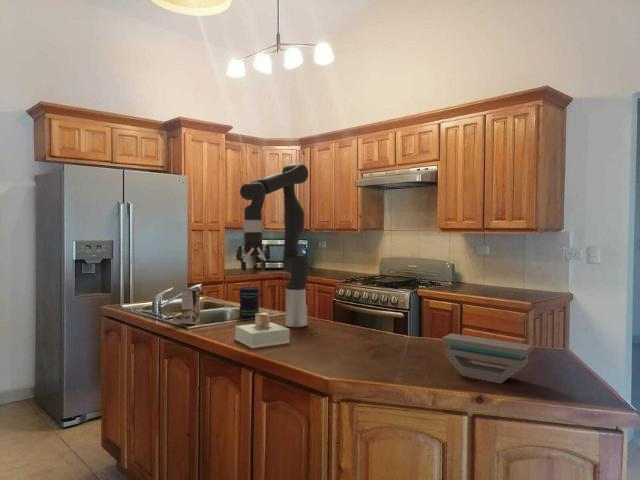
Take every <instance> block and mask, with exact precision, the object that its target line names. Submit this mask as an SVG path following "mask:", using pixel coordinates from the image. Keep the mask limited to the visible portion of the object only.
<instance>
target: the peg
mask: <svg viewBox="0 0 640 480" xmlns="http://www.w3.org/2000/svg"><path fill="white" fill-rule="evenodd" d="M270 317H271V315H270V313H268V312H258V313H255V320H254V321H255V323H254V324H255V329H257V330H262V329H269V322H271V321H270V319H271V318H270Z"/></svg>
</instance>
